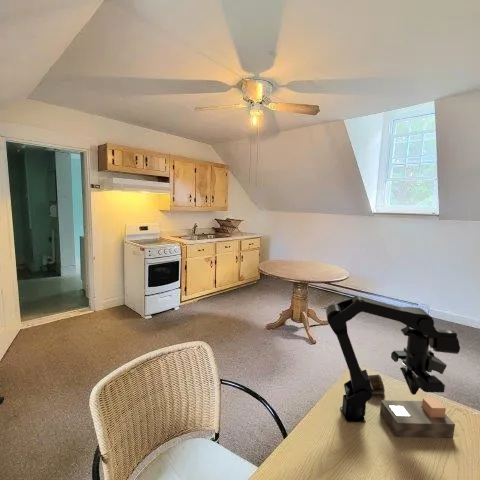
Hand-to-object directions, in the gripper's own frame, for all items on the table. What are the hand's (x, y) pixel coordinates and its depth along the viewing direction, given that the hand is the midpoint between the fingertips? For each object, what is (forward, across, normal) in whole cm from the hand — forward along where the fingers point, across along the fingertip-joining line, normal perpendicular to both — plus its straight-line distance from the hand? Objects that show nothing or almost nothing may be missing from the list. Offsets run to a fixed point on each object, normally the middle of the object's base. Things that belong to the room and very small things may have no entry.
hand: (413, 393), depth 91 cm
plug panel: (+11, 0, -2) cm, 12 cm away
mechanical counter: (+12, +17, +7) cm, 22 cm away
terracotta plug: (+8, 0, -7) cm, 11 cm away
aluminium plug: (+11, 0, +4) cm, 12 cm away
